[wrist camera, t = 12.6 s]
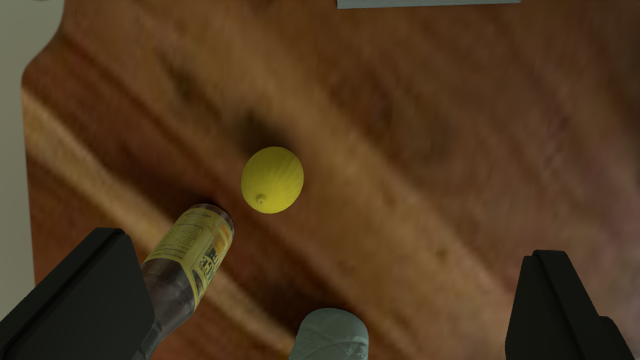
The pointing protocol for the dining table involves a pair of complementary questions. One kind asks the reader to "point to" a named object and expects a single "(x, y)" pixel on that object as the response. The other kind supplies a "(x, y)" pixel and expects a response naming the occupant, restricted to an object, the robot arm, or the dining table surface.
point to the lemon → (272, 179)
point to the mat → (413, 3)
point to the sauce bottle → (183, 269)
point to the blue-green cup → (331, 337)
